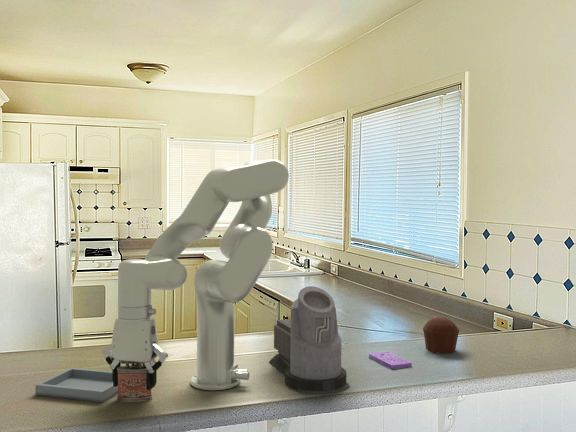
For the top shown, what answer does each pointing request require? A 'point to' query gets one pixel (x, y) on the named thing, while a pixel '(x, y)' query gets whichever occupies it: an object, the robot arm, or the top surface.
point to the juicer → (310, 345)
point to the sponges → (390, 360)
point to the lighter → (132, 382)
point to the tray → (79, 385)
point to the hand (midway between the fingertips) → (134, 386)
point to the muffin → (440, 335)
